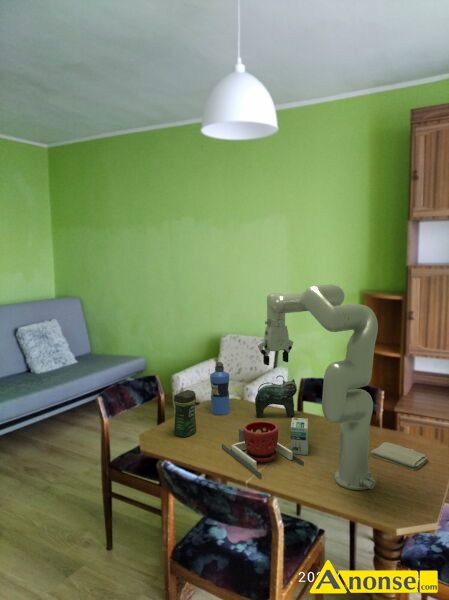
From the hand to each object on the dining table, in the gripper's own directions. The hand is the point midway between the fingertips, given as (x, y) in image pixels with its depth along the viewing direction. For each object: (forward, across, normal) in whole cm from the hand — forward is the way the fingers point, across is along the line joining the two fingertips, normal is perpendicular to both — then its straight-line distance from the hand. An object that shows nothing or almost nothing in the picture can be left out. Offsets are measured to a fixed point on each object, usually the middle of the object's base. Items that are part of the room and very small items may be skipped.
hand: (276, 363), depth 185 cm
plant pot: (+32, -17, -14) cm, 38 cm away
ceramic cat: (+32, +12, +17) cm, 38 cm away
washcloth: (+32, +27, -41) cm, 59 cm away
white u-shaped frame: (+31, -17, -11) cm, 37 cm away
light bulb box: (+32, 0, -16) cm, 35 cm away
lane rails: (+31, -17, -14) cm, 38 cm away
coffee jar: (+31, -33, +21) cm, 50 cm away
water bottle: (+31, -8, +36) cm, 48 cm away
